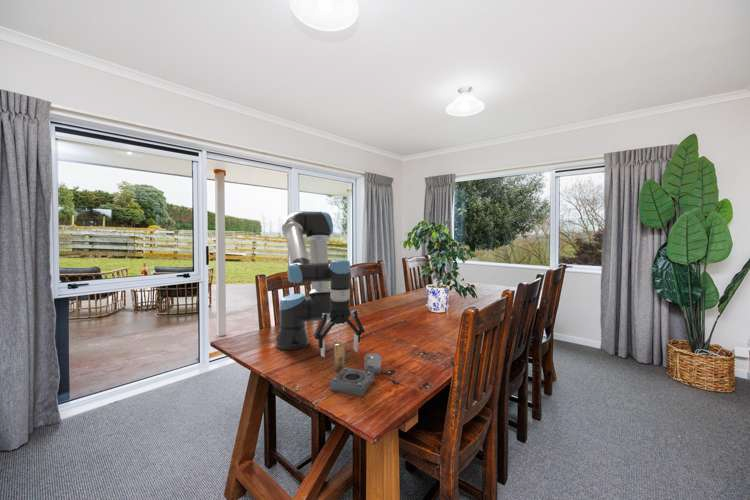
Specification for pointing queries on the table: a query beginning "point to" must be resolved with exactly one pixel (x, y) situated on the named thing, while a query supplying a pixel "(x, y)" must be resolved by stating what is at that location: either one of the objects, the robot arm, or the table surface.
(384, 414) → the table surface
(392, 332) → the table surface
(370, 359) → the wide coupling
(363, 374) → the flange socket
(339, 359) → the brass peg
